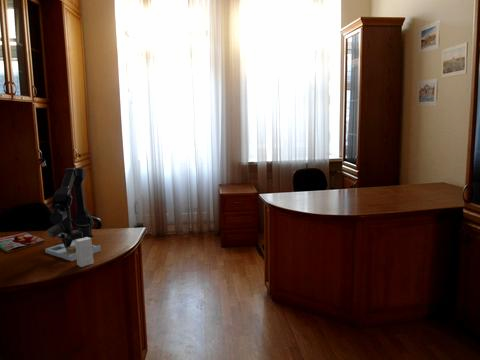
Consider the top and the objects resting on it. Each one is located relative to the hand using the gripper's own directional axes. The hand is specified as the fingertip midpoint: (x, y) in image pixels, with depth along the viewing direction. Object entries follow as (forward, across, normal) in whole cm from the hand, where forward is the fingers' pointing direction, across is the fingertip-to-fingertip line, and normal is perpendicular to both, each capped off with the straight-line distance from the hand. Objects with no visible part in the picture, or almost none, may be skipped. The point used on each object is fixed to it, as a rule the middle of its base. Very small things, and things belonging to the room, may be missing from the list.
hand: (67, 249), depth 193 cm
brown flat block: (+1, +3, +1) cm, 4 cm away
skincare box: (+3, +18, -3) cm, 18 cm away
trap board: (+3, -2, +4) cm, 6 cm away
